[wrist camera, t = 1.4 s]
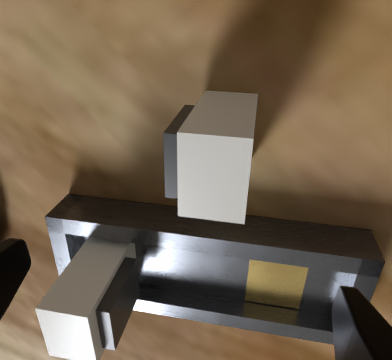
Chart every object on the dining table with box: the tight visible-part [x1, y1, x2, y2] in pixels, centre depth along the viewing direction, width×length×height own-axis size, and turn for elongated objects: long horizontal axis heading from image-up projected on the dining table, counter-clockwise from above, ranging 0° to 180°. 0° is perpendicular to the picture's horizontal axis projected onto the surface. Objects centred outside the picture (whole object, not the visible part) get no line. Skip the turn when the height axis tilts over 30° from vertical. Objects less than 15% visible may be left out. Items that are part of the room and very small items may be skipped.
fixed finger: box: [35, 237, 140, 360], centre depth 22 cm, size 4×4×7 cm
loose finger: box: [163, 91, 258, 224], centre depth 17 cm, size 4×4×7 cm
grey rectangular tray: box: [45, 194, 385, 345], centre depth 24 cm, size 21×8×3 cm, turn 89°
